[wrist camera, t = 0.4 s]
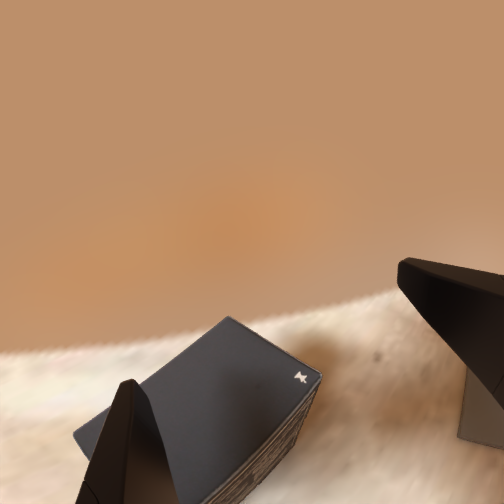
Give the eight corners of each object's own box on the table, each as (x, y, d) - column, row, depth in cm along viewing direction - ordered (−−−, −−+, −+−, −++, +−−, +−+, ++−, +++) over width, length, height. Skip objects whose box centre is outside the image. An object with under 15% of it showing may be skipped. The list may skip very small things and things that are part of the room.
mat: (528, 454, 14) (531, 452, 14) (457, 437, 18) (460, 434, 18) (524, 323, 28) (526, 320, 27) (469, 299, 32) (471, 297, 31)
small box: (230, 396, 23) (227, 306, 16) (297, 442, 19) (332, 372, 13) (131, 479, 16) (63, 427, 10) (198, 541, 13) (163, 544, 6)
